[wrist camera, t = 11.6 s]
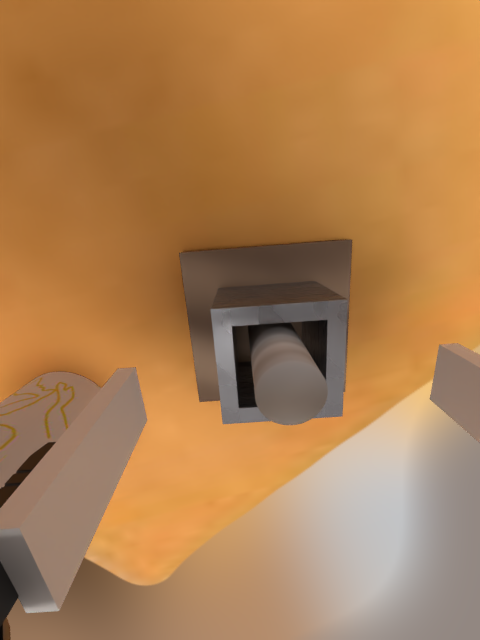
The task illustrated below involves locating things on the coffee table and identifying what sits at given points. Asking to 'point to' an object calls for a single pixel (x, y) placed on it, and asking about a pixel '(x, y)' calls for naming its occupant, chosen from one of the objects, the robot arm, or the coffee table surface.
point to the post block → (265, 339)
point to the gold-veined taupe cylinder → (40, 416)
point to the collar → (278, 307)
